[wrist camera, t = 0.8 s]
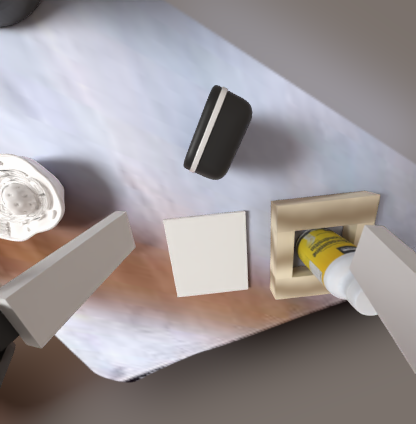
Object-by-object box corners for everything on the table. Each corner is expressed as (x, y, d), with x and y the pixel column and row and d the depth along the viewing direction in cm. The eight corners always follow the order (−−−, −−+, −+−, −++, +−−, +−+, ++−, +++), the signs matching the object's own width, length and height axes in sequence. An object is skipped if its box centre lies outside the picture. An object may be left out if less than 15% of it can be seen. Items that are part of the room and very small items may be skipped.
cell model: (-22, 153, 24) (-103, 156, 17) (74, 150, 24) (30, 152, 18) (8, 227, 27) (-51, 251, 21) (92, 223, 28) (60, 246, 21)
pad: (163, 219, 28) (163, 220, 27) (244, 210, 28) (245, 211, 27) (178, 294, 32) (177, 297, 32) (247, 286, 32) (248, 289, 32)
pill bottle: (336, 223, 29) (418, 269, 18) (330, 259, 31) (401, 319, 20) (295, 227, 29) (352, 275, 18) (292, 262, 31) (342, 324, 20)
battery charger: (213, 172, 26) (224, 190, 15) (187, 161, 25) (179, 171, 14) (236, 121, 24) (266, 99, 13) (208, 107, 23) (217, 73, 13)
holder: (271, 201, 28) (277, 206, 25) (365, 190, 28) (380, 194, 25) (270, 288, 33) (275, 299, 30) (349, 279, 33) (360, 289, 31)
